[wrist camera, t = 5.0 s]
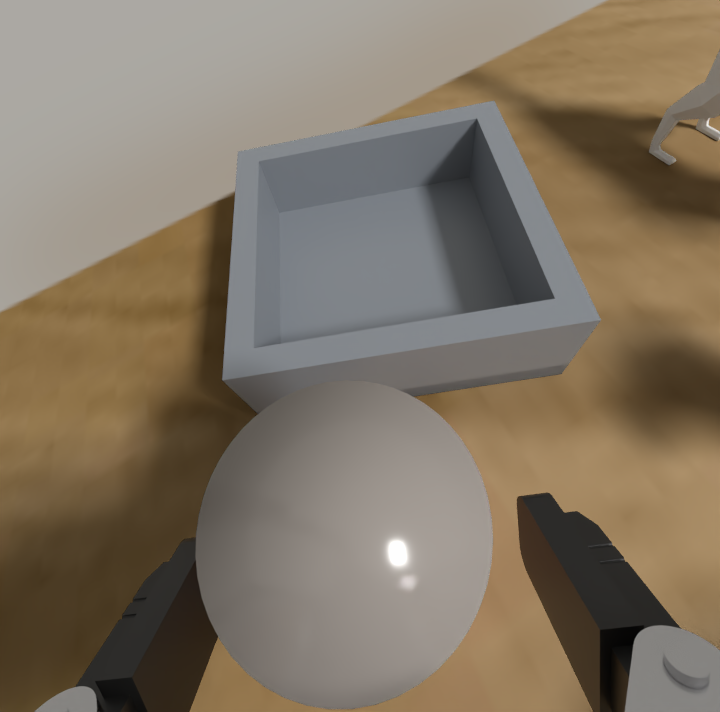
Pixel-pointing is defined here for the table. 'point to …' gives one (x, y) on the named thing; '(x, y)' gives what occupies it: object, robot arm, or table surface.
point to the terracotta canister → (344, 544)
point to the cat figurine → (691, 112)
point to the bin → (397, 262)
